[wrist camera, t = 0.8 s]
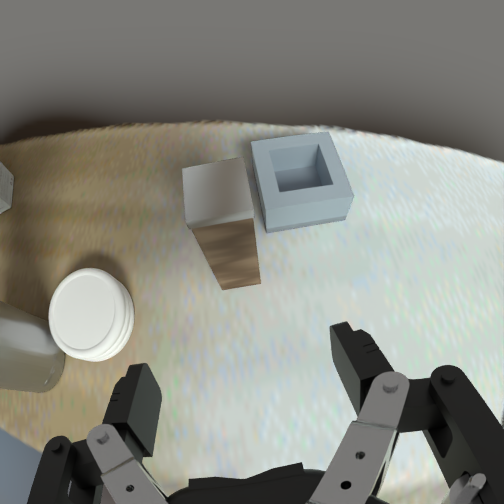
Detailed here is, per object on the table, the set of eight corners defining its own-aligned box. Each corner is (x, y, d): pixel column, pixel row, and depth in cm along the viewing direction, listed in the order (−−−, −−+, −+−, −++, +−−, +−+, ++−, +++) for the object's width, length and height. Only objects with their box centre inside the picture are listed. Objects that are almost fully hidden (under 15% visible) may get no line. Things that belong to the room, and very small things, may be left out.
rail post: (221, 291, 33) (185, 221, 19) (216, 254, 35) (182, 168, 21) (261, 284, 33) (253, 209, 20) (255, 247, 35) (243, 157, 21)
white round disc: (132, 269, 35) (120, 257, 32) (141, 357, 31) (127, 353, 28) (62, 284, 35) (47, 275, 32) (65, 365, 31) (48, 361, 28)
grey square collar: (266, 233, 35) (265, 209, 31) (253, 168, 39) (250, 141, 34) (344, 220, 36) (354, 196, 31) (323, 158, 39) (328, 131, 35)
